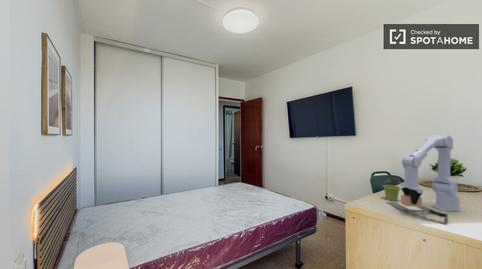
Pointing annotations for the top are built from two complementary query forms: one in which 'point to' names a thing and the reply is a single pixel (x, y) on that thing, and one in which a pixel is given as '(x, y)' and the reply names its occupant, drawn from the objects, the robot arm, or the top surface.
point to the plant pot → (391, 192)
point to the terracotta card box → (407, 201)
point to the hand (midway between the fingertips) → (411, 202)
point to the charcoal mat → (407, 207)
